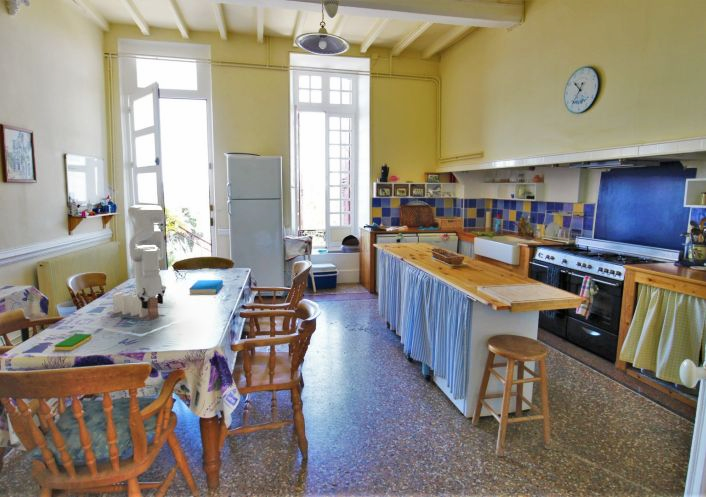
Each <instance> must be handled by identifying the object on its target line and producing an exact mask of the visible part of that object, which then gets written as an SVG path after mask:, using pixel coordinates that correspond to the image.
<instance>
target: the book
mask: <svg viewBox="0 0 706 497" xmlns="http://www.w3.org/2000/svg"><path fill="white" fill-rule="evenodd" d="M223 285H224V281H223V279H204V280H203V279H202V280H201V279H200V280H199V279H198V280H196V282H194V284H192V285H191V286H190V288H188V290H189V294H190V295H213V294H214V295H215V294H216V293H218V292H219V291H220V289H221V288H222V286H223Z"/></svg>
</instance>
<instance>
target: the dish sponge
mask: <svg viewBox="0 0 706 497" xmlns="http://www.w3.org/2000/svg"><path fill="white" fill-rule="evenodd" d="M91 338H92V334H90V333H86V334H85V333H75V334H74V335H71V336H70V337H68V338H65V339H64V340H62V341H60V342H58V343H57V344H55V345H54V350H55V351H73V350H75V349H76V348H78V347H80V346H81V345H83V344H85V343H86V341H87V342H89V341H91V340H92V339H91Z"/></svg>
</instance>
